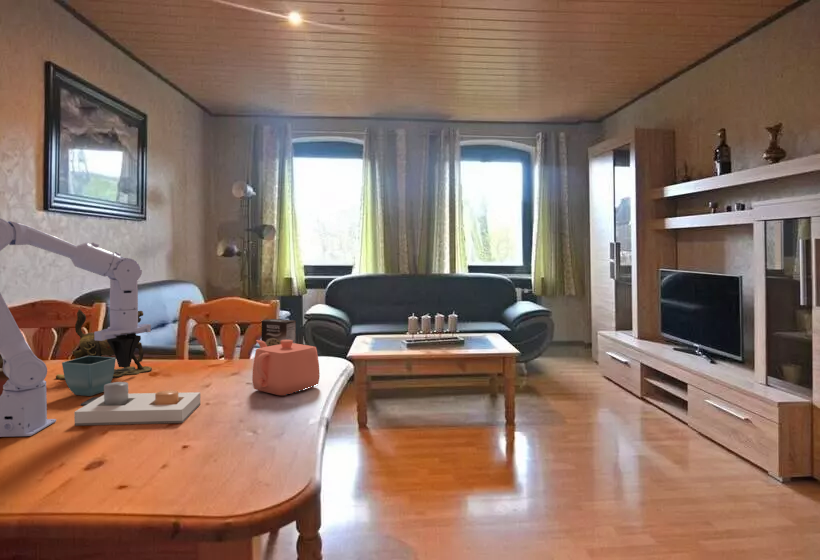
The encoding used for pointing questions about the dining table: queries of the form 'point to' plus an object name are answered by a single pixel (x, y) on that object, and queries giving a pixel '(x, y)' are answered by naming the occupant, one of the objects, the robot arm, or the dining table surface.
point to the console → (137, 410)
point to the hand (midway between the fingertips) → (124, 366)
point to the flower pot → (88, 374)
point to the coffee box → (278, 331)
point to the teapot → (285, 367)
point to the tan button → (166, 398)
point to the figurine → (104, 349)
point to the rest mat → (89, 401)
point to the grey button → (115, 393)
